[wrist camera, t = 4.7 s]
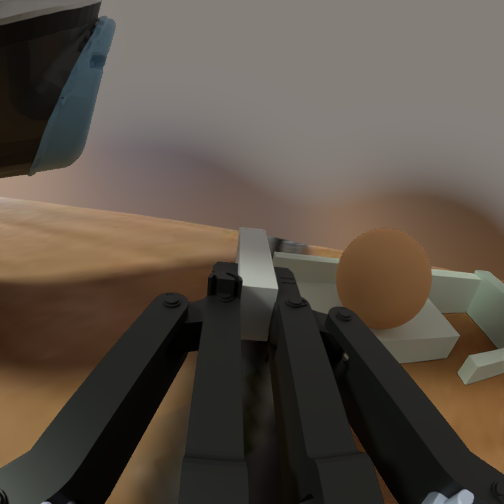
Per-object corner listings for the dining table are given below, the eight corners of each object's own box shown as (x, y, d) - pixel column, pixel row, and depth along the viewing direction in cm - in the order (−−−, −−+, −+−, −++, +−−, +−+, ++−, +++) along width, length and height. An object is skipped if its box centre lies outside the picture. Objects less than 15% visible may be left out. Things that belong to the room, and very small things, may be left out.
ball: (306, 313, 20) (330, 218, 17) (352, 285, 25) (374, 210, 22) (388, 365, 16) (435, 265, 13) (419, 322, 20) (452, 243, 17)
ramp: (282, 408, 15) (304, 349, 13) (266, 297, 26) (275, 246, 24) (525, 364, 18) (549, 326, 15) (473, 305, 28) (488, 271, 26)
